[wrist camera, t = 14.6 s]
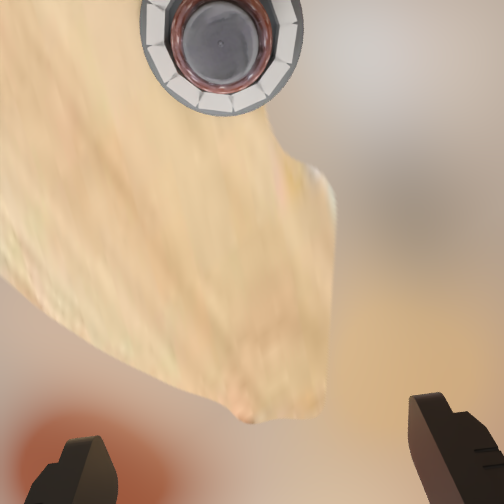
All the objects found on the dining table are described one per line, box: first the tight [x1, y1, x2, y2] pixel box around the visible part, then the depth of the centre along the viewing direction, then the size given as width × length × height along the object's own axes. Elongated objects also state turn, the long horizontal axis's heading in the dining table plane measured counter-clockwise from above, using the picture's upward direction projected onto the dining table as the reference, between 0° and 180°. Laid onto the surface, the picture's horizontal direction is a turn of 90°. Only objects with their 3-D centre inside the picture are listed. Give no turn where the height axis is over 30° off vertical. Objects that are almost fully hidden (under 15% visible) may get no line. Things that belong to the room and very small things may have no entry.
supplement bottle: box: [171, 0, 273, 94], centre depth 29 cm, size 6×6×11 cm
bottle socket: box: [140, 0, 304, 116], centre depth 33 cm, size 12×12×4 cm
